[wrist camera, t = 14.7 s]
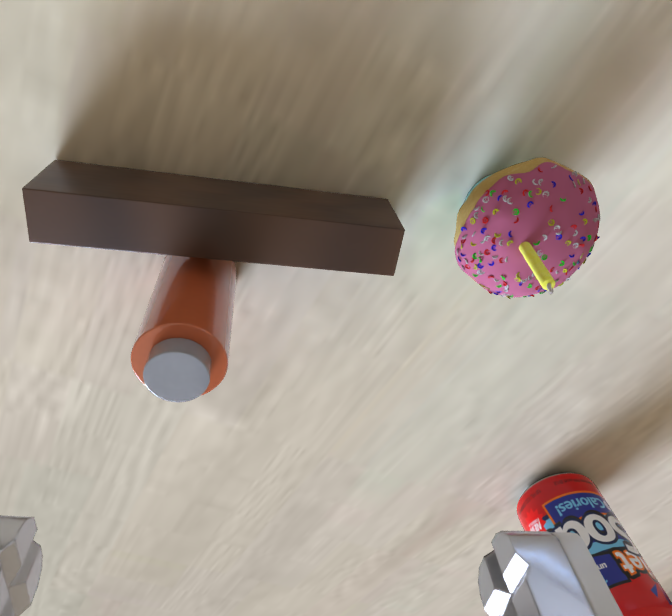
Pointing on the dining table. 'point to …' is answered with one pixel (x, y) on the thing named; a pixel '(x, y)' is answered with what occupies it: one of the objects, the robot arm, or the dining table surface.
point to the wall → (210, 219)
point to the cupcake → (526, 228)
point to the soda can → (595, 539)
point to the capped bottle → (186, 328)
